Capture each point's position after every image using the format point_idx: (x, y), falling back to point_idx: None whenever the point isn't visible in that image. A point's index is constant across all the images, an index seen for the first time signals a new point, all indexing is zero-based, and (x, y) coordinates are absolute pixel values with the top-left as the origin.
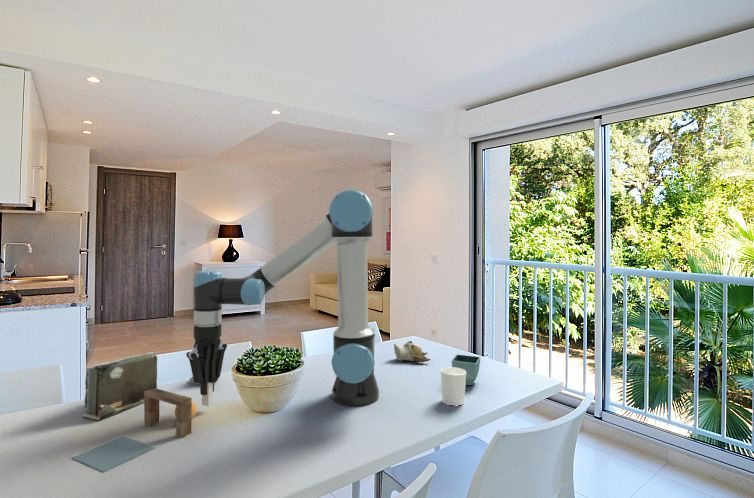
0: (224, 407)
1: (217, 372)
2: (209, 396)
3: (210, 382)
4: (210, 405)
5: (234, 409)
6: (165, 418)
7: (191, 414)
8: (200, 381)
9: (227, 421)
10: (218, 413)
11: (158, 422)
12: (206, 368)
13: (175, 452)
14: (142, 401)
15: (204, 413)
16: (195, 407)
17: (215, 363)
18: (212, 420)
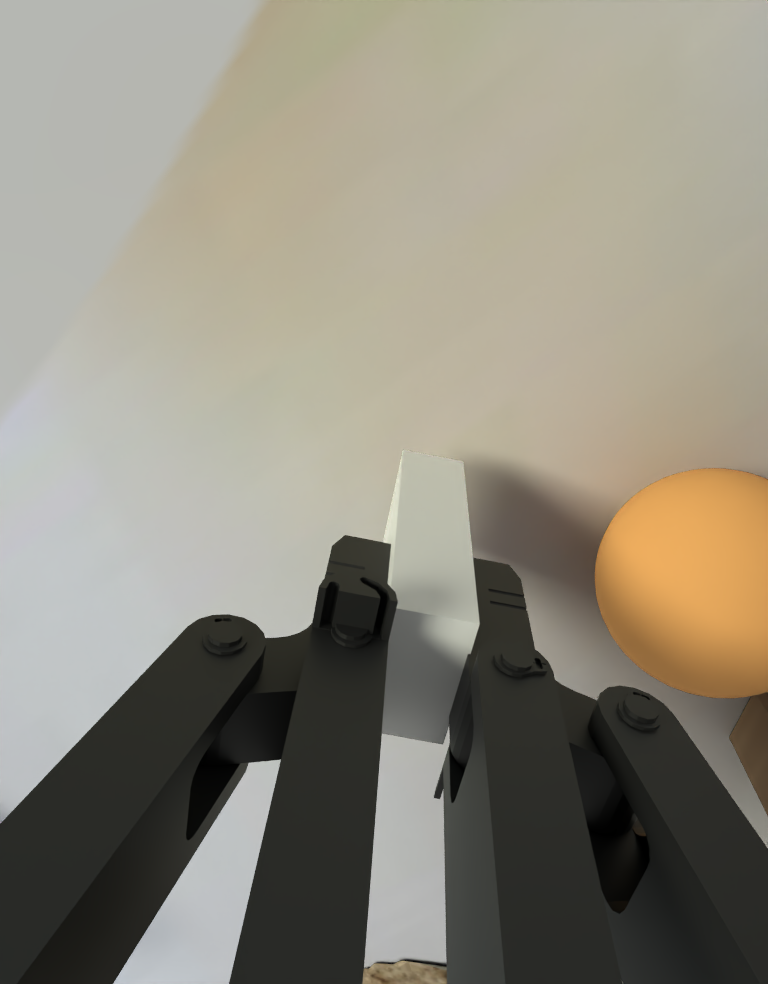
0: (269, 362)
1: (228, 700)
2: (454, 512)
3: (397, 640)
4: (432, 456)
5: (271, 211)
6: (659, 699)
7: (763, 479)
8: (668, 732)
9: (613, 63)
10: (432, 325)
11: (765, 696)
12: (569, 916)
13: None
14: (426, 980)
15: (475, 464)
16: (697, 509)
17: (250, 917)
18: (621, 271)
